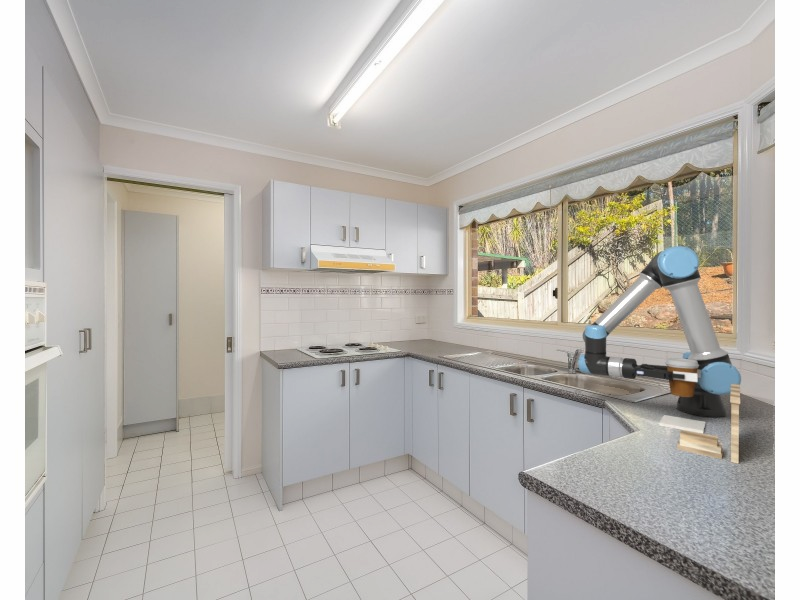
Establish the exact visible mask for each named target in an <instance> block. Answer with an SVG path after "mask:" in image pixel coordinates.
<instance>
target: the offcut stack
mask: <svg viewBox="0 0 800 600" xmlns="http://www.w3.org/2000/svg"><path fill="white" fill-rule="evenodd" d="M722 446H723V443H722V442H719V436H716V435H711V434H705V433H703V434H702V433H697V432H691V431H686V430H681V431H680V433H679V440H678V442H677V444H676V450H677V451H683V452H687V453H692V454H697V455H699V456H700V455H701V456H706V457H710V458H714V459H719V460H722V459H723V455H724V451H723V450H724V448H722Z"/></svg>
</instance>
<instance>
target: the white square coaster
mask: <svg viewBox="0 0 800 600" xmlns="http://www.w3.org/2000/svg"><path fill="white" fill-rule="evenodd" d="M658 423H659V424H658V426H659V427H666V428H671V429H676V430H681V431H682V430H685V431H691V432H696V433H701V434H705V433H704V432H705V429H704V428H706V421H702V420H696V419H690V418H685V417H684V418H683V417H680V416H679V417H678V416H673V415H665V414H664V415H663V416H662V417H661V419H660V421H659V422H658Z"/></svg>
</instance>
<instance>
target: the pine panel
mask: <svg viewBox="0 0 800 600" xmlns="http://www.w3.org/2000/svg"><path fill="white" fill-rule="evenodd" d="M740 385H741V384H740ZM740 385H739V384H732V383H731V393H729V403H730V405H731V406H730V407H731V409H730V410H731V412H730V414H731V415H730V416H731V417H730V420H731V421H730V423H731V424H730V425H731V427H730V429H731V430H730V431H731V432H730V463H734V464H738V465H739V454H740V453H739V450H740V448H739V447H740V446H739V442H740V440H739V439H740V438H739V433H740V432H739V430H740V429H739V427H740V425H739V423H740V405H741V390H740Z"/></svg>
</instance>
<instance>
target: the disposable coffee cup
mask: <svg viewBox="0 0 800 600" xmlns="http://www.w3.org/2000/svg"><path fill="white" fill-rule="evenodd" d="M664 363H665V366H667V371H671V372H673V371H677V372H687V373H697V369H698V366H699V365H698V362H697V361H696V360H691V359H683V358H675V357H673V358H672V357H669V358H666V360H665V362H664ZM668 382H669V383H668V384H669V391H670V394H671V395H673V396H676V397H679V396H682V397H692V396H693V395H694V389H695V382H692V381H683V380H674V379H673V381H669V380H668Z"/></svg>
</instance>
